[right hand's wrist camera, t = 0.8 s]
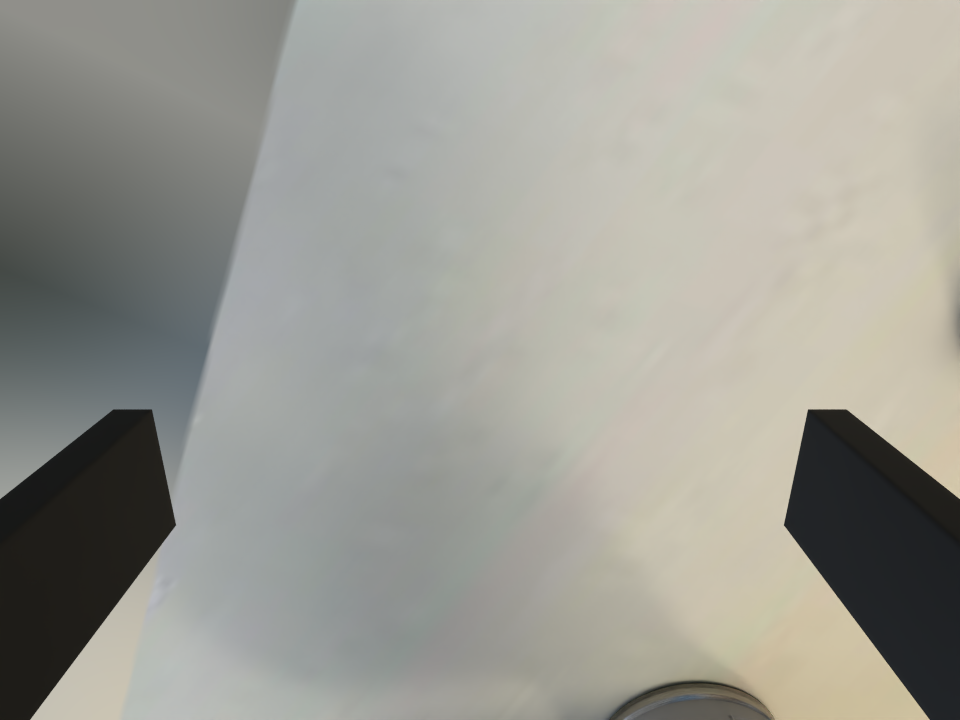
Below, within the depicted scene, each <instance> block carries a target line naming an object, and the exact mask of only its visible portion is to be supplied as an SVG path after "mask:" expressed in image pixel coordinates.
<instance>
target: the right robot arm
mask: <svg viewBox="0 0 960 720" xmlns="http://www.w3.org/2000/svg"><path fill="white" fill-rule="evenodd" d="M175 526H176V523H175V518H174V513H173V509H172V504H171V499H170V494H169V489H168V485H167V480H166V475H165V470H164V465H163V461H162V456H161V451H160V446H159V441H158V437H157V432H156V427H155V422H154V417H153V413H152V410H112V411H111V412H110V413H109V414H107V415H106V416H105V417H104V418H102V419H101V420H100V421H98V422H97V423H96V424H95V425H93V426H92V427H91V428H90V429H88V430H87V431H86V432H85V433H83V434H82V435H81V436H80V437H78V438H77V439H76V440H75V441H73V442H72V443H71V444H69V445H68V446H67V447H66V448H64V449H63V450H62V451H61V452H59V453H58V454H57V455H56V456H54V457H53V458H52V459H50V460H49V461H48V462H47V463H45V464H44V465H43V466H42V467H40V468H39V469H38V470H37V471H35V472H34V473H33V474H31V475H30V476H29V477H28V478H26V479H25V480H24V481H23V482H21V483H20V484H19V485H18V486H16V487H15V488H14V489H13V490H11V491H10V492H9V493H8V494H6V495H5V496H4V497H2V498H1V499H0V720H30V719H31V718H32V716H33V715H34V714H35V712H36V711H37V710H38V708H39V707H40V706H41V704H42V703H43V702H44V700H45V699H46V698H47V696H48V695H49V694H50V692H51V691H52V690H53V688H54V687H55V686H56V684H57V683H58V682H59V680H60V679H61V678H62V676H63V675H64V674H65V672H66V671H67V670H68V668H69V667H70V666H71V664H72V663H73V662H74V660H75V659H76V658H77V656H78V655H79V654H80V652H81V651H82V650H83V648H84V647H85V646H86V644H87V643H88V642H89V640H90V639H91V638H92V636H93V635H94V634H95V632H96V631H97V630H98V628H99V627H100V626H101V624H102V623H103V622H104V620H105V619H106V618H107V616H108V615H109V614H110V612H111V611H112V610H113V608H114V607H115V606H116V604H117V603H118V602H119V600H120V599H121V598H122V596H123V595H124V594H125V592H126V591H127V590H128V588H129V587H130V586H131V584H132V583H133V582H134V580H135V579H136V578H137V576H138V575H139V574H140V572H141V571H142V570H143V568H144V567H145V566H146V564H147V563H148V562H149V560H150V559H151V558H152V556H153V555H154V554H155V552H156V551H157V550H158V548H159V547H160V546H161V544H162V543H163V542H164V540H165V539H166V538H167V536H168V535H169V534H170V532H171V531H172V530H173V528H174V527H175ZM784 526H785V527H786V528H787V530H788V531H789V532H790V534H791V535H792V536H793V538H794V539H795V540H796V542H797V543H798V544H799V546H800V547H801V548H802V550H803V551H804V552H805V554H806V555H807V556H808V558H809V559H810V560H811V562H812V563H813V564H814V566H815V567H816V568H817V570H818V571H819V572H820V574H821V575H822V576H823V578H824V579H825V580H826V582H827V583H828V584H829V586H830V587H831V588H832V590H833V591H834V592H835V594H836V595H837V596H838V598H839V599H840V600H841V602H842V603H843V604H844V606H845V607H846V608H847V610H848V611H849V612H850V614H851V615H852V616H853V618H854V619H855V620H856V622H857V623H858V624H859V626H860V627H861V628H862V630H863V631H864V632H865V634H866V635H867V636H868V638H869V639H870V640H871V642H872V643H873V644H874V646H875V647H876V648H877V650H878V651H879V652H880V654H881V655H882V656H883V658H884V659H885V660H886V662H887V663H888V664H889V666H890V667H891V668H892V670H893V671H894V672H895V674H896V675H897V676H898V678H899V679H900V680H901V682H902V683H903V684H904V686H905V687H906V688H907V690H908V691H909V692H910V694H911V695H912V696H913V698H914V699H915V700H916V702H917V703H918V704H919V706H920V707H921V708H922V710H923V711H924V712H925V714H926V715H927V716H928V718H929V719H930V720H960V499H959V498H958V497H956V496H955V495H954V494H953V493H951V492H950V491H949V490H947V489H946V488H945V487H944V486H942V485H941V484H940V483H939V482H937V481H936V480H935V479H934V478H932V477H931V476H930V475H929V474H927V473H926V472H925V471H923V470H922V469H921V468H920V467H918V466H917V465H916V464H915V463H913V462H912V461H911V460H910V459H908V458H907V457H906V456H904V455H903V454H902V453H901V452H899V451H898V450H897V449H896V448H894V447H893V446H892V445H891V444H889V443H888V442H887V441H886V440H884V439H883V438H882V437H880V436H879V435H878V434H877V433H875V432H874V431H873V430H872V429H870V428H869V427H868V426H867V425H865V424H864V423H863V422H862V421H860V420H859V419H858V418H856V417H855V416H854V415H853V414H851V413H850V412H849V411H848V410H808V413H807V417H806V422H805V427H804V432H803V437H802V441H801V446H800V451H799V456H798V461H797V465H796V470H795V475H794V480H793V485H792V489H791V494H790V499H789V504H788V509H787V513H786V518H785V523H784ZM610 720H775V719H774V718H773V716H772V714H771V713H770V712H769V710H768V709H767V708H766V707H765V706H764V705H763V704H762V703H760V702H759V701H758V700H756V699H755V698H753V697H752V696H750V695H748V694H746V693H744V692H742V691H739V690H737V689H733V688H730V687H726V686H722V685H716V684H705V683H691V684H681V685H674V686H669V687H665V688H661V689H658V690H655V691H652V692H650V693H647V694H645V695H643V696H641V697H638V698H637V699H635V700H633V701H631V702H630V703H628V704H627V705H625V706H624V707H622V708H621V709H620V710H619V711H618V712H616V713H615V714H614V715H613V716H612V717H611V718H610Z"/></svg>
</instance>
